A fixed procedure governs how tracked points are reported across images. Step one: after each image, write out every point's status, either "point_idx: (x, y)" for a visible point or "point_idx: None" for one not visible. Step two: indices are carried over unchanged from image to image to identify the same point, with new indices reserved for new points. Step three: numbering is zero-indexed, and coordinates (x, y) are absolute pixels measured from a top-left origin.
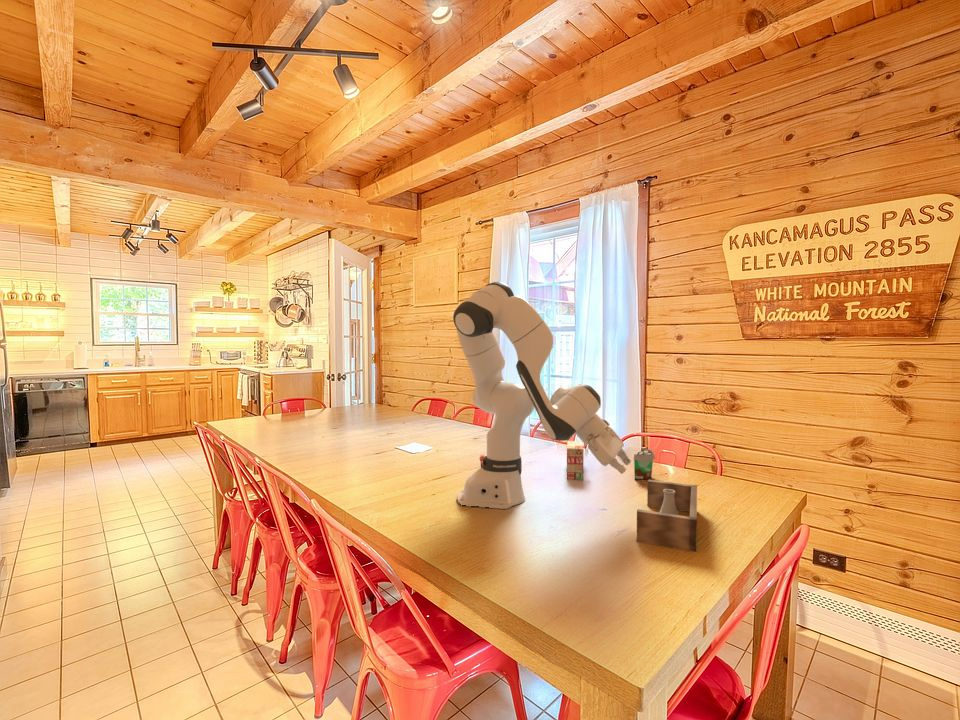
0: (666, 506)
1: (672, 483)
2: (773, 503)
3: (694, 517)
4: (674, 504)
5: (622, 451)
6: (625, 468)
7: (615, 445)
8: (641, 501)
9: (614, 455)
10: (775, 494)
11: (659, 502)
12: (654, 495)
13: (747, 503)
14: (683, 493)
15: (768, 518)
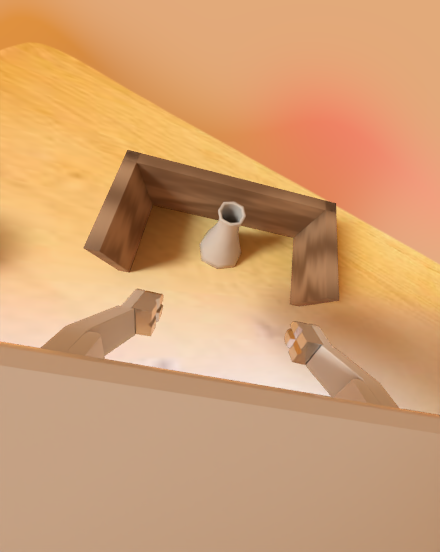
0: (236, 237)
1: (116, 194)
2: (92, 87)
3: (325, 203)
4: (232, 221)
5: (98, 342)
6: (304, 324)
7: (204, 464)
8: (100, 281)
9: (434, 424)
10: (44, 67)
11: (132, 246)
12: (123, 250)
13: (95, 117)
14: (138, 190)
15: (160, 118)
